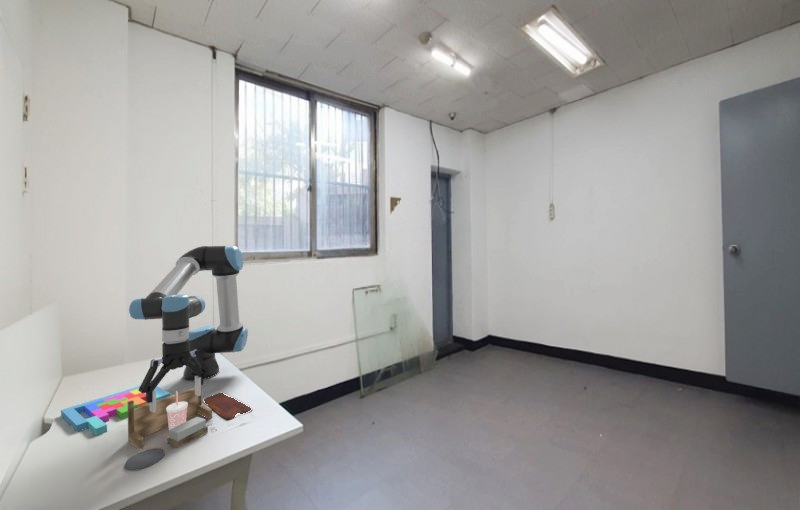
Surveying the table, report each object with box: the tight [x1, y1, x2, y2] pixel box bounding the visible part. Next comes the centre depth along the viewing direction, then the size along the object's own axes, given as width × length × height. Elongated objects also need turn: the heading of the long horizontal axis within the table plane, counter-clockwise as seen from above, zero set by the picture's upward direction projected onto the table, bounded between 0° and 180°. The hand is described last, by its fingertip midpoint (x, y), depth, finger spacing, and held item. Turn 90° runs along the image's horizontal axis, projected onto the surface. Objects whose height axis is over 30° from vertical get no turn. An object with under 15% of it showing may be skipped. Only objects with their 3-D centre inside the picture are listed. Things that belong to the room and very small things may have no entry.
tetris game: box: [60, 385, 172, 436], centre depth 122 cm, size 28×3×28 cm
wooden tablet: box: [203, 392, 252, 421], centre depth 126 cm, size 27×10×2 cm, turn 52°
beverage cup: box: [166, 390, 188, 431], centre depth 107 cm, size 6×6×14 cm
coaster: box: [124, 447, 165, 471], centre depth 93 cm, size 9×9×1 cm
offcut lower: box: [166, 425, 209, 449], centre depth 104 cm, size 10×5×2 cm, turn 151°
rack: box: [127, 387, 213, 451], centre depth 109 cm, size 22×9×13 cm, turn 149°
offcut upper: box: [168, 416, 207, 441], centre depth 104 cm, size 9×5×2 cm, turn 155°
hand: (176, 402), depth 107 cm, fingers open, 13 cm apart
